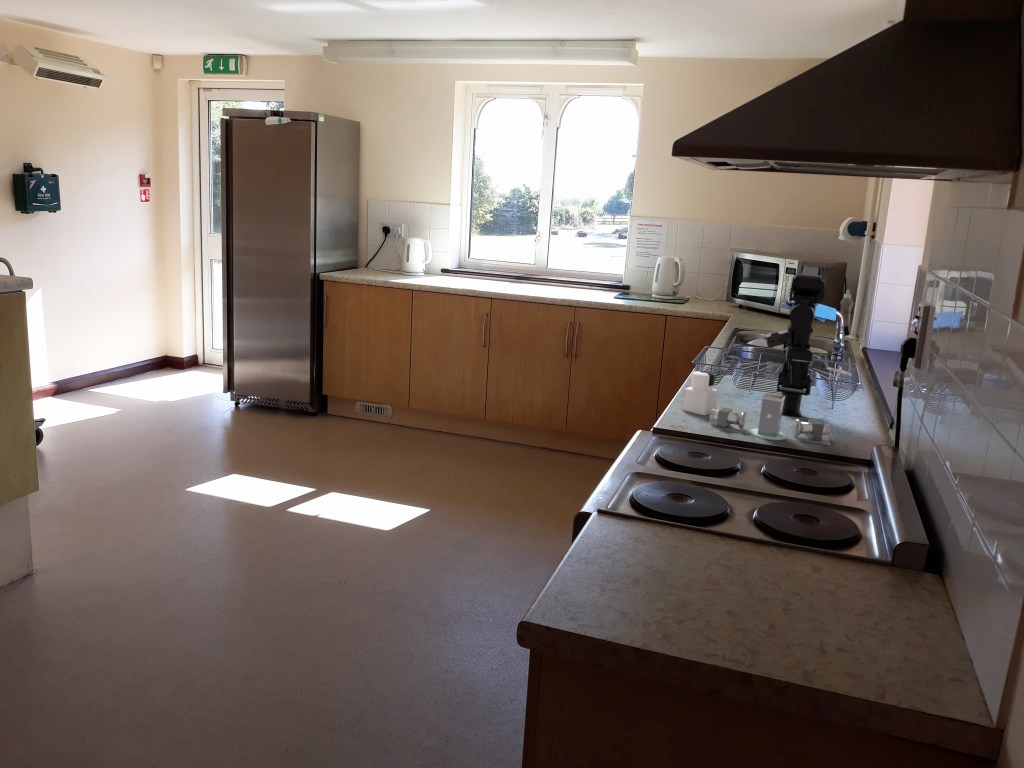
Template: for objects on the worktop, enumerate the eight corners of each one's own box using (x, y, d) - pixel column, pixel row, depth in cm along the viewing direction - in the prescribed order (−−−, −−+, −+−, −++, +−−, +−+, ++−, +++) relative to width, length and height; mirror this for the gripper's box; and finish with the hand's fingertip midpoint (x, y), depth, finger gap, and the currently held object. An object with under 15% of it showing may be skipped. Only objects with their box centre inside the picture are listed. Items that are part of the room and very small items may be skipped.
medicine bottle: (692, 409, 233) (698, 367, 230) (715, 414, 229) (721, 372, 226) (680, 413, 228) (686, 371, 225) (704, 418, 223) (709, 376, 221)
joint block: (761, 429, 212) (766, 392, 210) (779, 433, 210) (785, 395, 208) (757, 434, 207) (762, 395, 205) (775, 437, 205) (781, 399, 203)
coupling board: (708, 421, 221) (709, 416, 221) (825, 436, 214) (826, 432, 214) (707, 434, 208) (707, 429, 208) (831, 452, 201) (832, 447, 201)
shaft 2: (796, 439, 206) (799, 421, 205) (790, 434, 211) (793, 416, 210) (830, 441, 206) (833, 424, 205) (823, 436, 211) (826, 419, 210)
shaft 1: (744, 427, 213) (747, 410, 212) (740, 431, 210) (742, 414, 208) (712, 421, 217) (715, 404, 216) (707, 425, 214) (709, 407, 212)
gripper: (768, 315, 224) (759, 370, 228) (770, 324, 207) (762, 384, 210) (810, 319, 222) (801, 375, 225) (817, 329, 204) (807, 390, 208)
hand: (792, 381), depth 217 cm, fingers open, 9 cm apart
